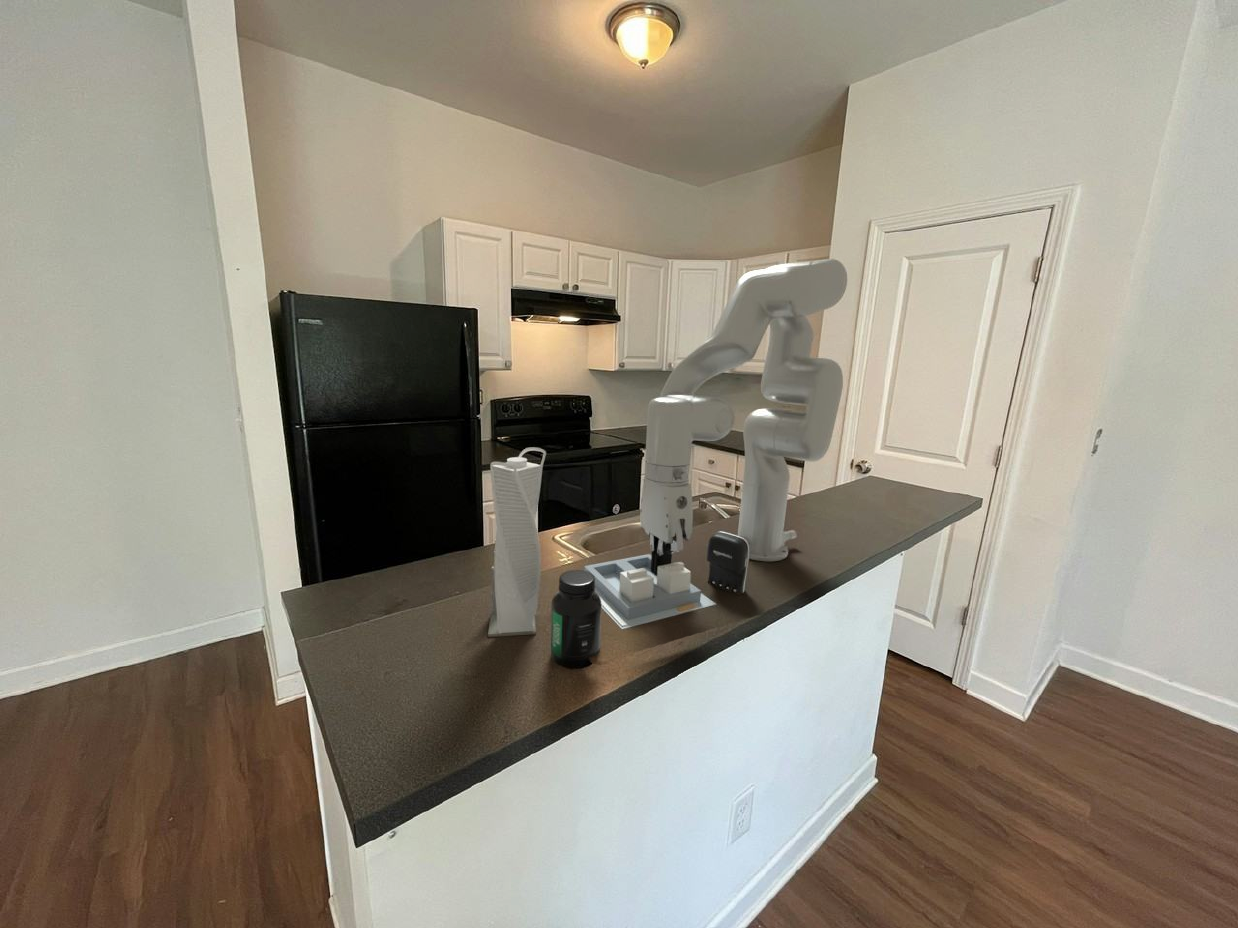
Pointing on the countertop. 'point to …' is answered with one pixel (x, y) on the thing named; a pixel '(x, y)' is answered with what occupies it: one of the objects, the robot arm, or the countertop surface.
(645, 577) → the tab
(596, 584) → the switch bank
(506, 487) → the skyscraper
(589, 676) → the countertop surface
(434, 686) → the countertop surface
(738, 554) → the battery charger
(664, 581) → the tab
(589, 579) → the supplement bottle
